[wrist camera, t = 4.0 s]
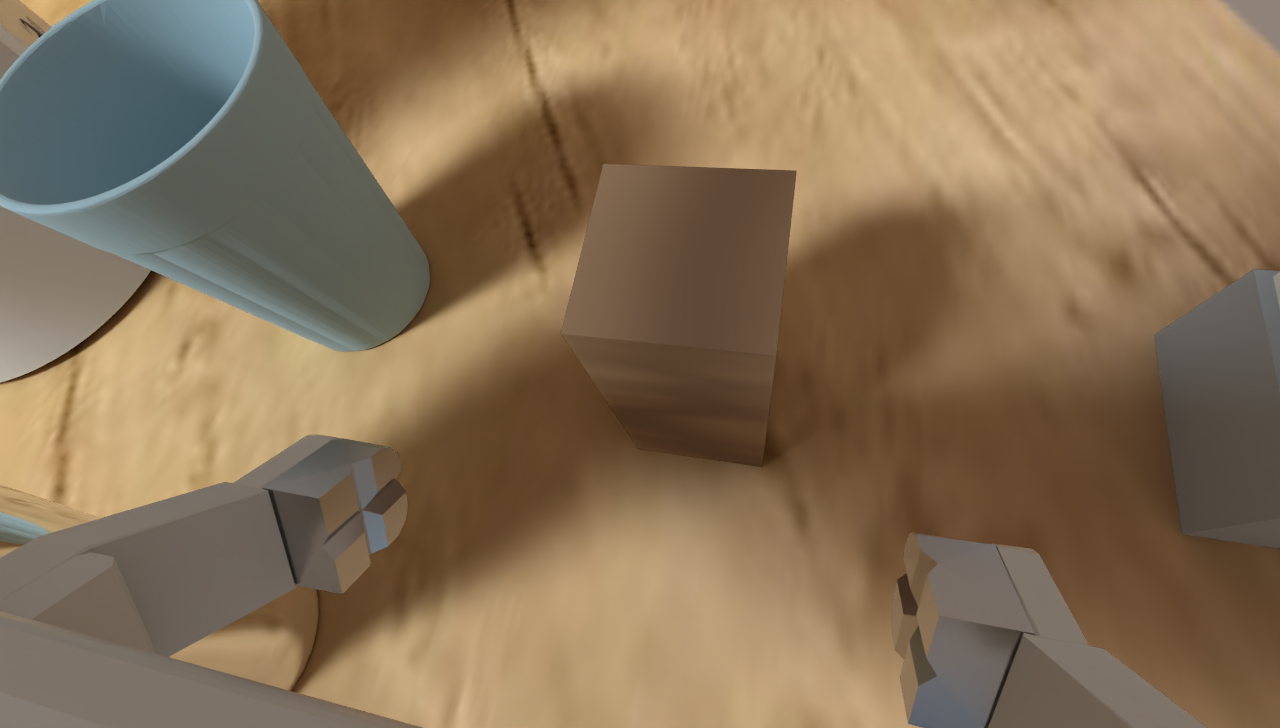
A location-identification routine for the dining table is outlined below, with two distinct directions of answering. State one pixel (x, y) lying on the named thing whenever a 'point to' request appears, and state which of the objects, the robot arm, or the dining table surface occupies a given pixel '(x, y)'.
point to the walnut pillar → (684, 304)
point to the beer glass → (247, 647)
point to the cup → (207, 166)
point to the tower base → (1226, 412)
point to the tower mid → (1277, 285)
